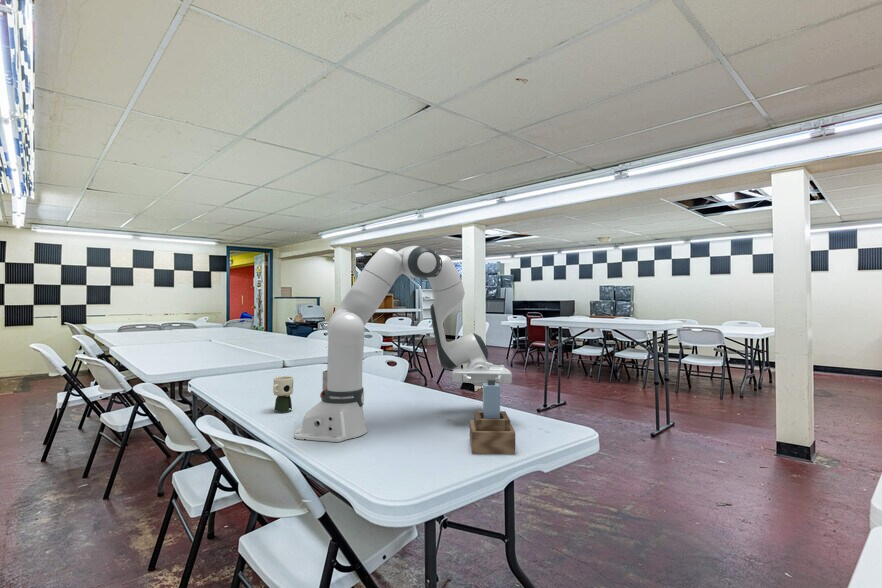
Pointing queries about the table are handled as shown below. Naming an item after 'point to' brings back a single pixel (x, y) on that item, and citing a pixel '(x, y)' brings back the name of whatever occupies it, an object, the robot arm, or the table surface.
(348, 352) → the robot arm
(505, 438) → the socket block
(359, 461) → the table surface
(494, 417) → the plug block
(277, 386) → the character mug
